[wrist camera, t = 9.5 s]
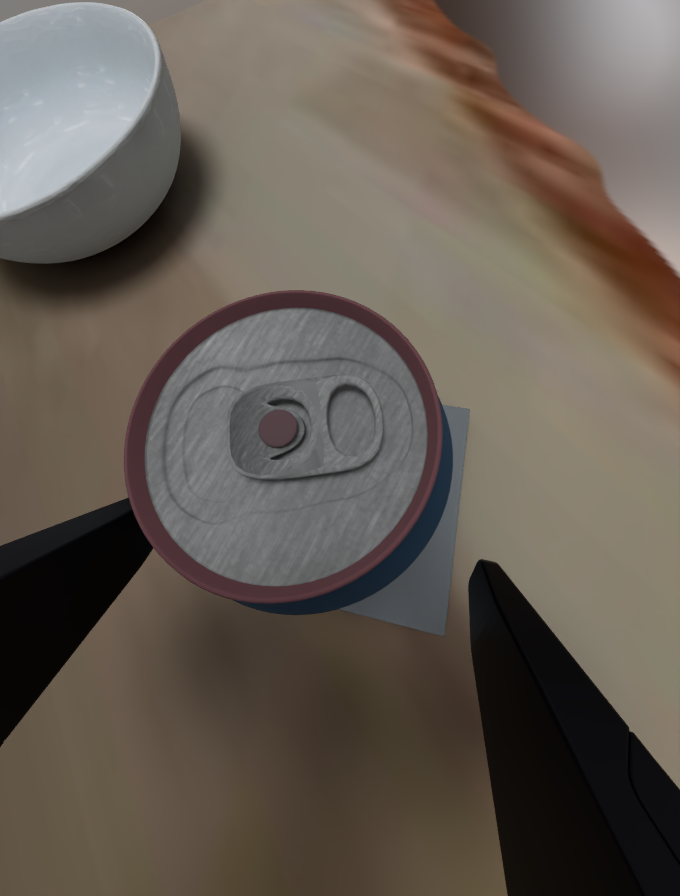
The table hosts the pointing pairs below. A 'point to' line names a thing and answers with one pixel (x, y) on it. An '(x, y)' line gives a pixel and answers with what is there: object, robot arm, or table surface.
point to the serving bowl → (81, 130)
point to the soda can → (289, 453)
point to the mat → (426, 559)
